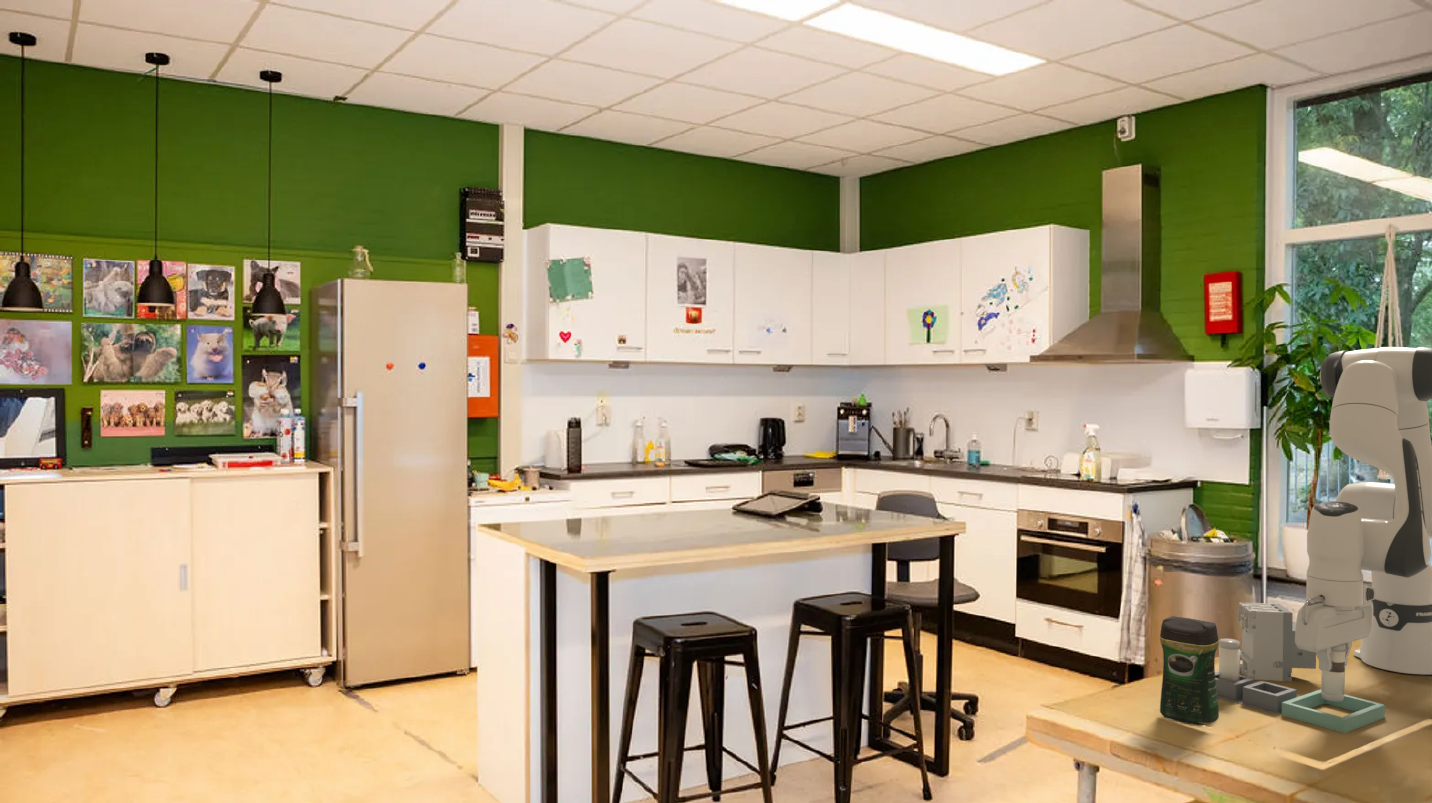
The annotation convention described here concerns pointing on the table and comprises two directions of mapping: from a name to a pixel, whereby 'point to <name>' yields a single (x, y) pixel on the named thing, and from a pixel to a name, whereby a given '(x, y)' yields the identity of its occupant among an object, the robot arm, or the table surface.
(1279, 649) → the circuit breaker
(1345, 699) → the parts tray
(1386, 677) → the table surface
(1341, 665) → the cylinder
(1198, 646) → the coffee jar
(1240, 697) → the block
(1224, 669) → the cylinder
